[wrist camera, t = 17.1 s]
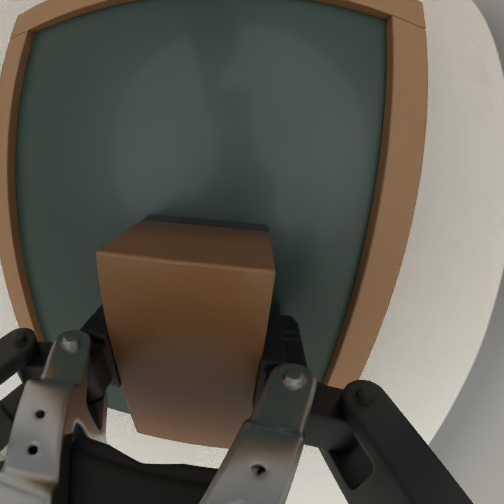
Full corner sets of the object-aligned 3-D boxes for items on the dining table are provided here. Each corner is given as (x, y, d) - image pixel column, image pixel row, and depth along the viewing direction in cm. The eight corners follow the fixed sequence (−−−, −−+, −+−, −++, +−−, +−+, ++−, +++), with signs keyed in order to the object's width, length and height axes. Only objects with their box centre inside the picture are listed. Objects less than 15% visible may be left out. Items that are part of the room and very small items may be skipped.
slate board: (36, 22, 7) (17, 15, 6) (405, 15, 8) (422, 2, 6) (57, 376, 15) (46, 391, 14) (322, 420, 16) (326, 441, 14)
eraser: (148, 214, 10) (94, 250, 6) (269, 225, 10) (276, 270, 6) (159, 372, 13) (136, 433, 9) (248, 384, 13) (245, 450, 9)
